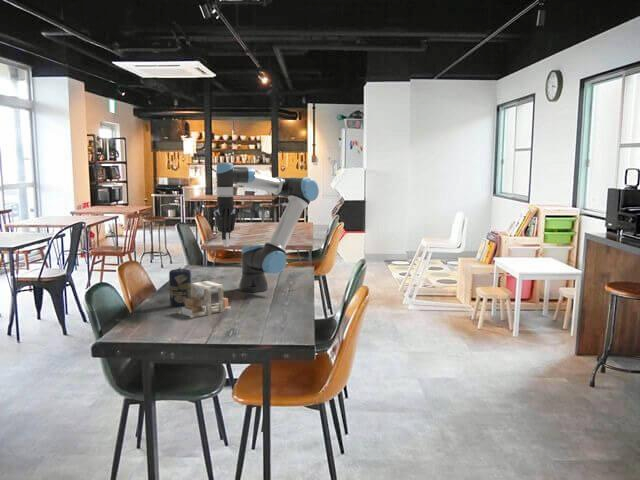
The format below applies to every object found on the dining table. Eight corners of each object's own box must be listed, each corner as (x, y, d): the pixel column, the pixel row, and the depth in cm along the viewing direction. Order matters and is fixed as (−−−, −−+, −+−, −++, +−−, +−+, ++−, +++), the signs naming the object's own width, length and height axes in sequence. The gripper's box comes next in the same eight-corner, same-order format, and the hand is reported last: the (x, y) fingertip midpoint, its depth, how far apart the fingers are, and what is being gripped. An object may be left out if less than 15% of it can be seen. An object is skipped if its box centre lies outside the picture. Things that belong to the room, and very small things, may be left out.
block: (194, 309, 246) (194, 296, 246) (201, 311, 243) (200, 298, 242) (185, 311, 243) (185, 298, 242) (192, 313, 240) (191, 300, 239)
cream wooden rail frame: (226, 305, 263) (225, 277, 262) (242, 309, 255) (242, 281, 253) (177, 315, 245) (176, 285, 243) (193, 320, 236) (192, 290, 235)
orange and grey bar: (221, 305, 258) (221, 296, 258) (231, 308, 253) (230, 299, 253) (181, 313, 243) (181, 304, 243) (191, 316, 238) (190, 307, 238)
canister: (170, 309, 255) (168, 270, 252) (169, 304, 264) (168, 266, 262) (192, 308, 257) (190, 269, 255) (190, 303, 266) (189, 265, 264)
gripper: (231, 195, 272) (232, 244, 275) (208, 196, 262) (209, 247, 265) (241, 195, 267) (242, 245, 270) (218, 196, 257) (219, 248, 260)
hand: (226, 246), depth 267 cm, fingers closed
